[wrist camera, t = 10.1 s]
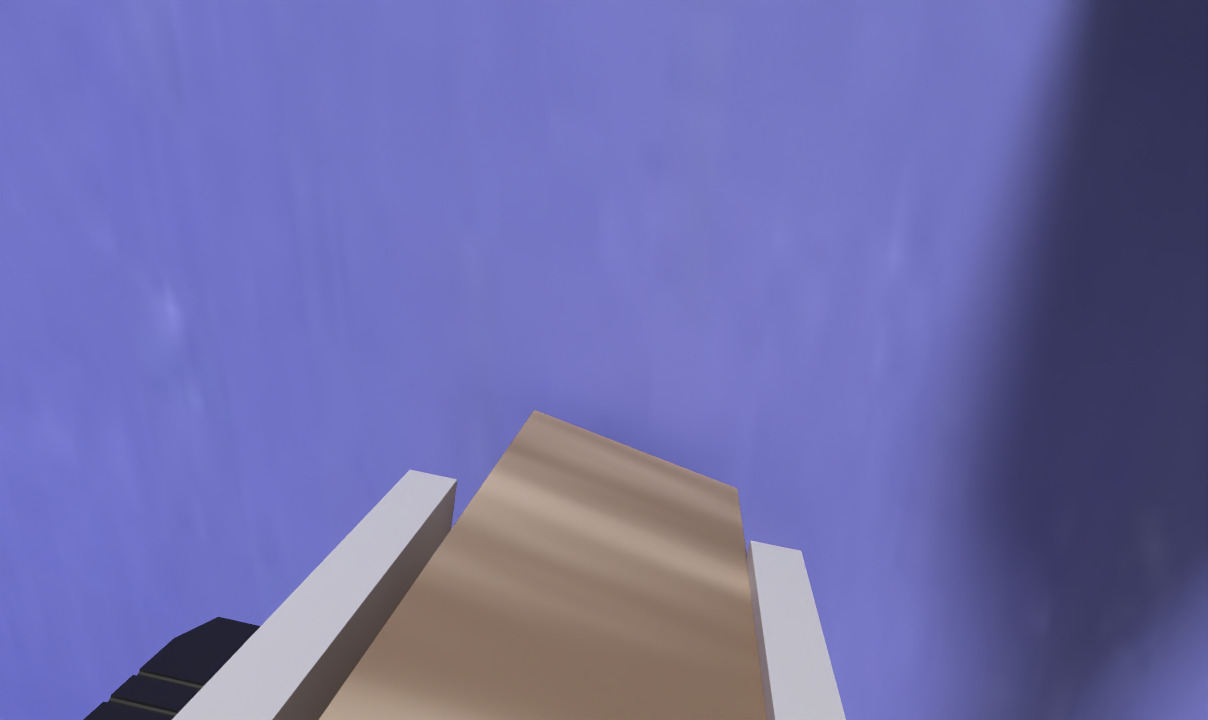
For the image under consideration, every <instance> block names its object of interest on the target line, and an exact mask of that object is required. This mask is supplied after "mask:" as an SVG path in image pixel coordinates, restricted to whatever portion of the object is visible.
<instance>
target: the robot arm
mask: <svg viewBox="0 0 1208 720" xmlns="http://www.w3.org/2000/svg"><path fill="white" fill-rule="evenodd" d="M456 486H457V479H452V478H447V477H443V476H438V475H433V474H428V473H423V472H419V471H414V470H409V471H408V472H407V473H406V474H405V475H404V476H403V477H402V478H401V480H400V481H399V482H398V483H397V484H396V485H395V486H394V487H393V488H392V489H391V490H390V491H389V492H388V493H387V494H386V495H385V496H384V497H383V498H382V499H381V501H380V502H379V503H378V504H377V505H376V506H375V507H374V508H373V509H372V510H371V511H370V512H369V513H368V514H367V515H366V516H365V517H364V518H363V519H362V520H361V522H360V523H359V524H358V525H357V526H356V527H355V528H354V529H353V530H352V531H351V532H350V533H349V534H348V535H347V536H346V537H345V538H344V539H343V540H342V541H341V543H340V544H339V545H338V546H337V547H336V548H335V549H334V550H333V551H332V552H331V553H330V554H329V555H328V556H327V557H326V558H325V559H324V560H323V561H322V562H321V564H320V565H319V566H318V567H317V568H316V569H315V570H314V571H313V572H312V573H311V574H310V575H309V576H308V577H307V578H306V579H305V580H304V581H303V582H302V584H301V585H300V586H299V587H298V588H297V589H296V590H295V591H294V592H293V593H292V594H291V595H290V596H289V597H288V598H287V599H286V600H285V601H284V602H283V603H282V605H281V606H280V607H279V608H278V609H277V610H276V611H275V612H274V613H273V614H272V615H271V616H270V617H269V618H268V619H267V620H266V621H265V622H264V623H263V624H262V626H257V625H252V624H248V623H243V622H239V621H235V620H230V619H226V618H221V617H217V618H215V619H213V620H211V621H209V622H207V623H205V624H203V625H201V626H199V627H197V628H194V629H192V630H190V631H188V632H186V633H184V634H182V635H180V636H178V637H176V638H174V639H173V640H172V641H170V642H169V643H168V644H167V645H166V646H165V647H164V648H163V649H162V650H160V651H159V652H158V653H157V654H156V655H155V656H154V657H153V658H152V659H150V660H149V661H148V662H147V663H146V664H145V665H144V666H143V667H142V668H140V671H139V673H138V675H137V676H135V675H133V676H132V677H130V678H129V679H128V680H127V681H126V682H125V683H124V684H123V685H122V686H120V687H119V688H118V689H117V690H116V691H115V692H114V693H113V694H112V695H111V698H110V700H109V701H108V702H103V703H102V704H100V705H99V706H98V707H97V708H96V709H95V710H94V711H93V712H92V713H90V714H89V715H88V716H87V717H86V718H85V719H84V720H319V719H320V717H321V716H322V714H323V713H324V711H325V710H326V709H327V707H328V706H329V704H330V703H331V701H332V700H333V699H334V697H335V696H336V694H337V693H338V691H339V690H340V688H341V687H342V686H343V684H344V683H345V681H346V680H347V678H348V677H349V676H350V674H351V673H352V671H353V670H354V668H355V667H356V665H357V664H358V663H359V661H360V660H361V658H362V657H363V655H364V654H365V653H366V651H367V650H368V648H369V647H370V645H371V644H372V642H373V641H374V640H375V638H376V637H377V635H378V634H379V632H380V631H381V630H382V628H383V627H384V625H385V624H386V622H387V621H388V619H389V618H390V617H391V615H392V614H393V612H394V611H395V609H396V608H397V607H398V605H399V604H400V602H401V601H402V599H403V598H404V596H405V595H406V594H407V592H408V591H409V589H410V588H411V586H412V585H413V584H414V582H415V581H416V579H417V578H418V576H419V575H420V573H421V572H422V571H423V569H424V568H425V566H426V565H427V563H428V562H429V561H430V559H431V558H432V556H433V555H434V553H435V552H436V550H437V549H438V548H439V546H440V545H441V543H442V542H443V540H444V539H445V538H446V536H447V535H448V533H449V532H450V530H451V524H452V516H453V509H454V501H455V493H456ZM746 562H747V570H748V577H749V585H750V593H751V600H752V608H753V615H754V623H755V631H756V638H757V646H758V653H759V661H760V669H761V676H762V684H763V691H764V699H765V707H766V714H767V720H846V718H845V715H844V711H843V707H842V703H841V699H840V696H839V692H838V688H837V684H836V681H835V677H834V673H833V669H832V666H831V662H830V658H829V654H828V650H827V647H826V643H825V639H824V635H823V632H822V628H821V624H820V620H819V616H818V613H817V609H816V605H815V601H814V598H813V594H812V590H811V586H810V583H809V579H808V575H807V571H806V567H805V564H804V560H803V556H802V552H801V551H799V550H794V549H789V548H784V547H780V546H775V545H770V544H765V543H760V542H756V541H750V545H749V549H748V553H747V558H746Z"/></svg>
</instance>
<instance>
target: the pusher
mask: <svg viewBox="0 0 1208 720" xmlns="http://www.w3.org/2000/svg"><path fill="white" fill-rule="evenodd" d="M746 558H747V553H746V546H745V539H744V532H743V525H742V518H741V511H740V504H739V497H738V490H737V488H735V487H732V486H729V485H727V484H724V483H722V482H719V481H717V480H714V479H711V478H709V477H706V476H704V475H701V474H699V473H696V472H693V471H691V470H688V469H686V468H683V467H680V466H678V465H675V464H673V463H670V462H668V461H665V460H662V459H660V458H657V457H655V456H652V455H650V454H647V453H644V452H642V451H639V450H637V449H634V448H632V447H629V446H626V445H624V444H621V443H619V442H616V441H613V440H611V439H608V438H606V437H603V436H601V435H598V434H595V433H593V432H590V431H588V430H585V429H583V428H580V427H577V426H575V425H572V424H570V423H567V422H565V421H562V420H559V419H557V418H554V417H552V416H549V415H546V414H544V413H541V412H539V411H536V410H534V411H533V412H532V414H531V415H530V417H529V418H528V420H527V421H526V422H525V424H524V425H523V427H522V428H521V430H520V431H519V433H518V434H517V435H516V437H515V438H514V440H513V441H512V443H511V444H510V445H509V447H508V448H507V450H506V451H505V453H504V454H503V456H502V457H501V458H500V460H499V461H498V463H497V464H496V466H495V467H494V468H493V470H492V471H491V473H490V474H489V476H488V477H487V479H486V480H485V481H484V483H483V484H482V486H481V487H480V489H479V490H478V491H477V493H476V494H475V496H474V497H473V499H472V500H471V502H470V503H469V504H468V506H467V507H466V509H465V510H464V512H463V513H462V514H461V516H460V517H459V519H458V520H457V522H456V523H455V525H454V526H453V527H452V529H451V530H450V532H449V533H448V535H447V536H446V538H445V539H444V540H443V542H442V543H441V545H440V546H439V548H438V549H437V550H436V552H435V553H434V555H433V556H432V558H431V559H430V561H429V562H428V563H427V565H426V566H425V568H424V569H423V571H422V572H421V573H420V575H419V576H418V578H417V579H416V581H415V582H414V584H413V585H412V586H411V588H410V589H409V591H408V592H407V594H406V595H405V596H404V598H403V599H402V601H401V602H400V604H399V605H398V607H397V608H396V609H395V611H394V612H393V614H392V615H391V617H390V618H389V619H388V621H387V622H386V624H385V625H384V627H383V628H382V630H381V631H380V632H379V634H378V635H377V637H376V638H375V640H374V641H373V642H372V644H371V645H370V647H369V648H368V650H367V651H366V653H365V654H364V655H363V657H362V658H361V660H360V661H359V663H358V664H357V665H356V667H355V668H354V670H353V671H352V673H351V674H350V676H349V677H348V678H347V680H346V681H345V683H344V684H343V686H342V687H341V688H340V690H339V691H338V693H337V694H336V696H335V697H334V699H333V700H332V701H331V703H330V704H329V706H328V707H327V709H326V710H325V711H324V713H323V714H322V716H321V717H320V719H319V720H767V714H766V707H765V699H764V691H763V684H762V676H761V669H760V661H759V653H758V646H757V638H756V631H755V623H754V615H753V608H752V600H751V593H750V585H749V577H748V570H747V562H746Z"/></svg>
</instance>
